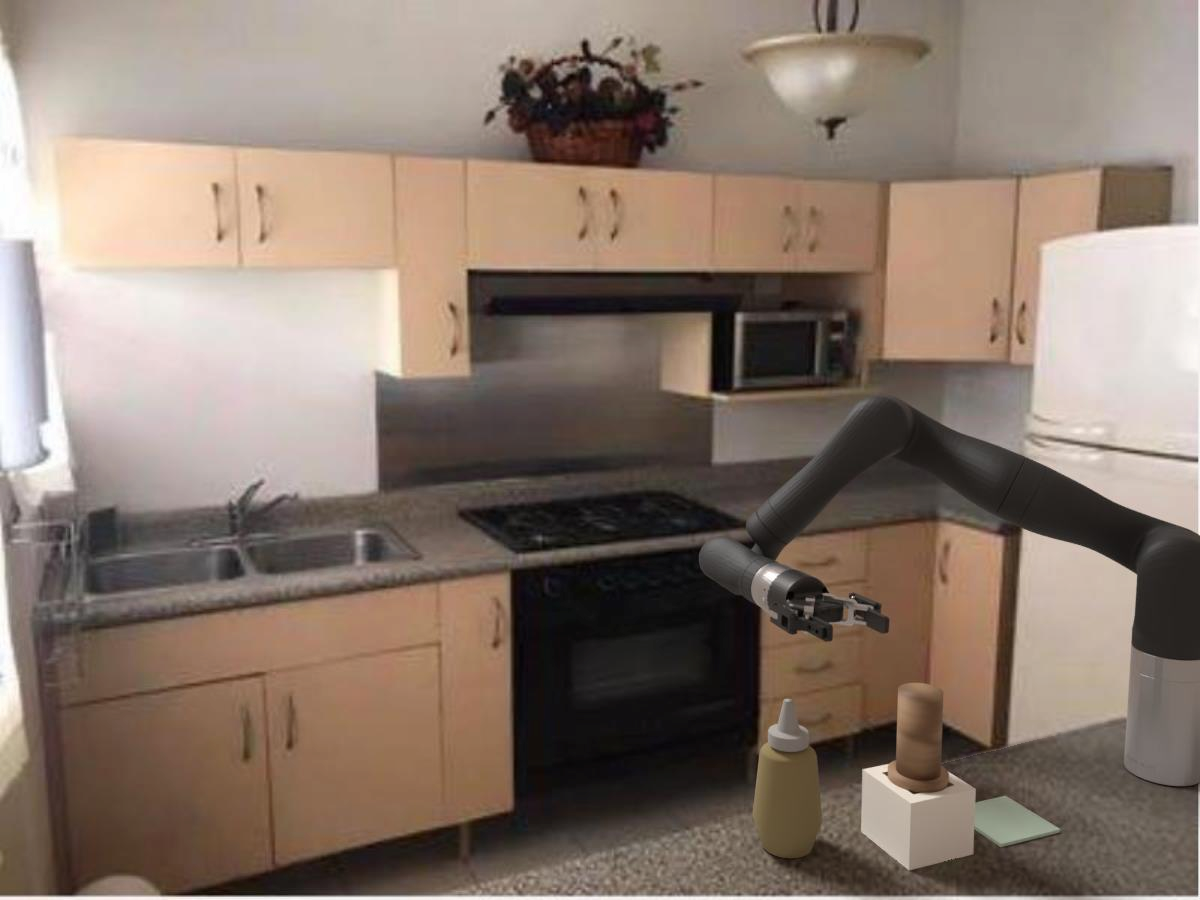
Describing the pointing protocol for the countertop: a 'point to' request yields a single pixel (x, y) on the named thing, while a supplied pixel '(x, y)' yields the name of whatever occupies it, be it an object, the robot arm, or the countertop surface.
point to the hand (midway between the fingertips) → (859, 630)
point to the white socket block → (918, 819)
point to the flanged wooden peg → (919, 740)
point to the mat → (1009, 822)
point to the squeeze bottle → (787, 789)
